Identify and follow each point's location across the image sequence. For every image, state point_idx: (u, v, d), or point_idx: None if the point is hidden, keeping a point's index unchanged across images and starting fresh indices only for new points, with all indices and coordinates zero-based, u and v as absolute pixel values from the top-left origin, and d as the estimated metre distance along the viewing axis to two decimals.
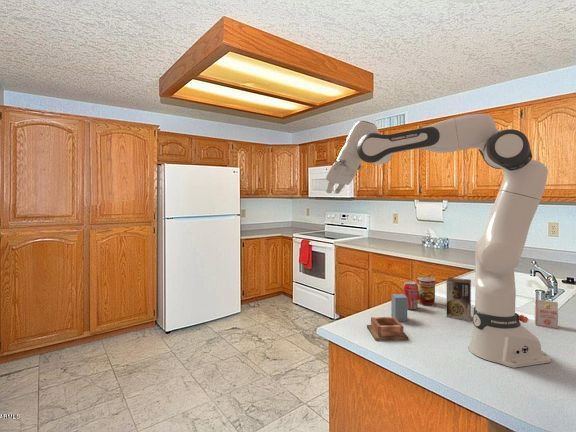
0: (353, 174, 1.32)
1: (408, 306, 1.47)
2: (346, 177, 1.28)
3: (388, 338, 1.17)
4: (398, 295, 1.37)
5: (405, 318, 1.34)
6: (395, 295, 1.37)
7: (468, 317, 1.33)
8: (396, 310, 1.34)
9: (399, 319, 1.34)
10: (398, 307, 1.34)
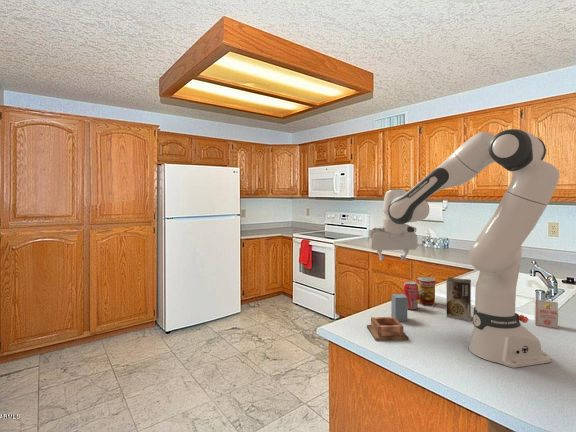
0: (413, 238, 1.34)
1: (408, 306, 1.47)
2: (398, 242, 1.34)
3: (388, 338, 1.17)
4: (398, 295, 1.37)
5: (405, 318, 1.34)
6: (395, 295, 1.37)
7: (468, 317, 1.33)
8: (396, 310, 1.34)
9: (399, 319, 1.34)
10: (398, 307, 1.34)
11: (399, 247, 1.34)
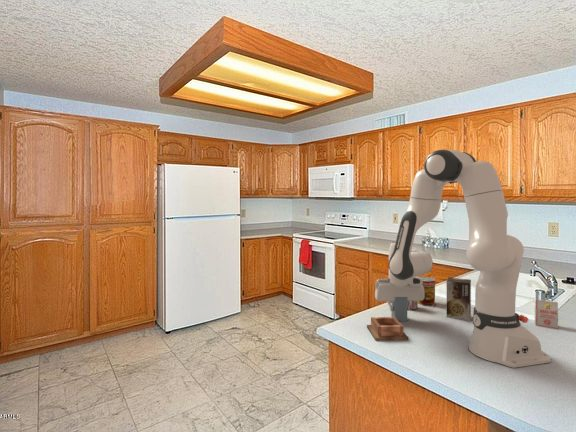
0: (419, 289, 1.34)
1: None
2: (404, 293, 1.34)
3: (388, 338, 1.17)
4: None
5: (405, 318, 1.34)
6: None
7: (468, 317, 1.33)
8: (396, 310, 1.34)
9: (399, 319, 1.34)
10: (398, 307, 1.34)
11: None
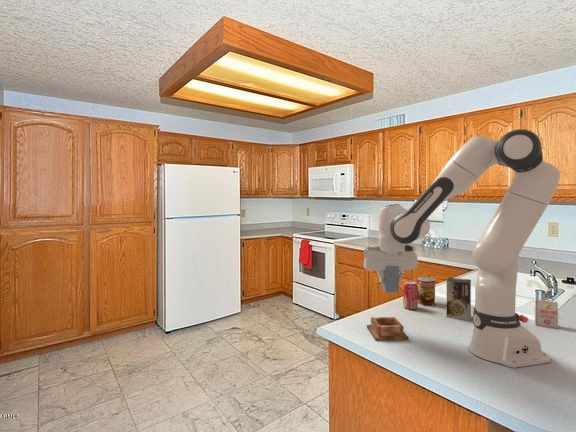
0: (412, 257, 1.23)
1: (408, 306, 1.47)
2: (396, 262, 1.23)
3: (388, 338, 1.17)
4: None
5: (396, 289, 1.23)
6: None
7: (468, 317, 1.33)
8: (387, 280, 1.23)
9: (390, 290, 1.23)
10: (388, 277, 1.23)
11: None
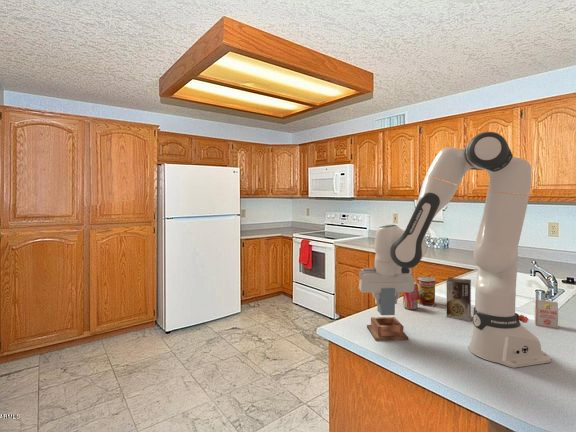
0: (408, 279, 1.20)
1: (408, 306, 1.47)
2: (392, 284, 1.20)
3: (388, 338, 1.17)
4: None
5: (392, 312, 1.20)
6: None
7: (468, 317, 1.33)
8: (382, 303, 1.20)
9: (385, 313, 1.20)
10: (384, 300, 1.19)
11: None
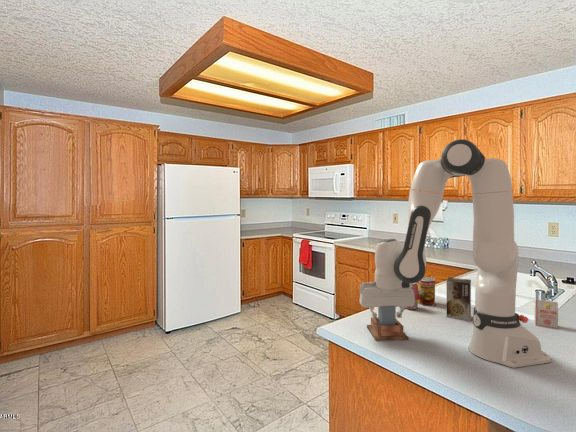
0: (409, 293, 1.20)
1: (408, 306, 1.47)
2: (392, 298, 1.20)
3: (388, 338, 1.17)
4: None
5: None
6: None
7: (468, 317, 1.33)
8: (383, 321, 1.20)
9: None
10: (385, 318, 1.20)
11: (393, 304, 1.20)
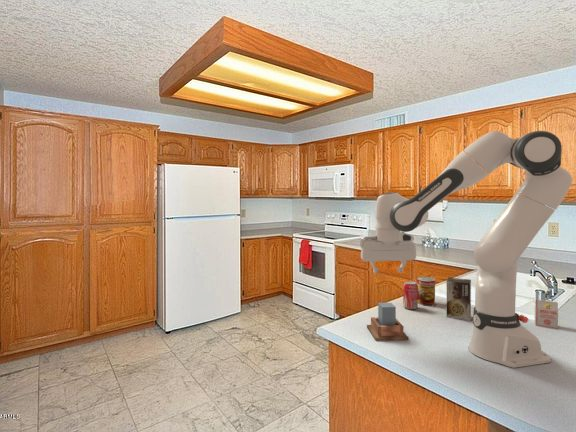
0: (410, 247, 1.19)
1: (408, 306, 1.47)
2: (394, 252, 1.19)
3: (388, 338, 1.17)
4: (385, 303, 1.23)
5: None
6: (382, 304, 1.23)
7: (468, 317, 1.33)
8: (383, 321, 1.20)
9: None
10: (385, 318, 1.20)
11: (395, 258, 1.19)
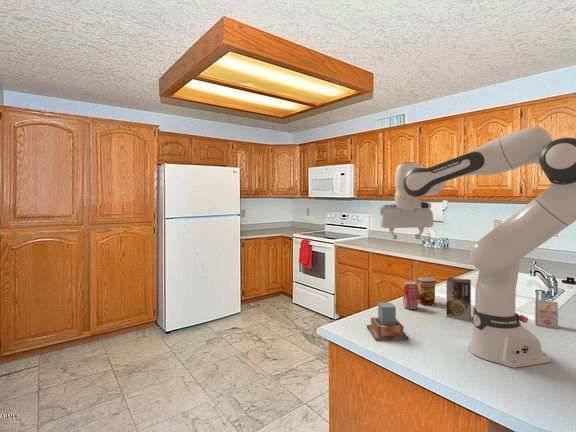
0: (427, 214, 1.25)
1: (408, 306, 1.47)
2: (412, 219, 1.26)
3: (388, 338, 1.17)
4: (385, 303, 1.23)
5: None
6: (382, 304, 1.23)
7: (468, 317, 1.33)
8: (383, 321, 1.20)
9: None
10: (385, 318, 1.20)
11: (413, 225, 1.26)
